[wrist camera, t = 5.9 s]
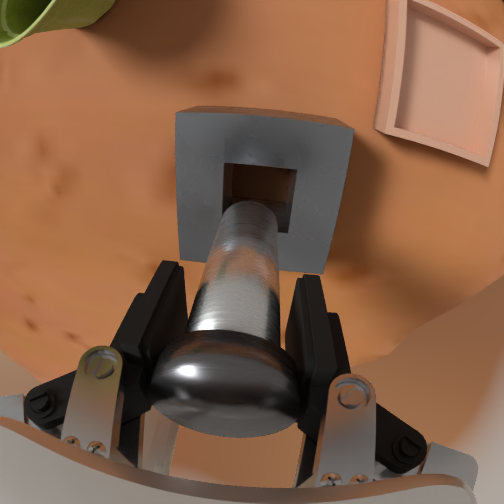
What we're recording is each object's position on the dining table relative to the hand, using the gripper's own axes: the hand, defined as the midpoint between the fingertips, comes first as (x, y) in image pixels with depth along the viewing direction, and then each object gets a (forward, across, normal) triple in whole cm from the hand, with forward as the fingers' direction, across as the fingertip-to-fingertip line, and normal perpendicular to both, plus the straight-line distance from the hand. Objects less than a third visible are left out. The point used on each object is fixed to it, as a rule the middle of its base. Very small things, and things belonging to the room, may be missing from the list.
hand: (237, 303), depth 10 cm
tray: (+13, -13, -11) cm, 22 cm away
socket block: (+13, 0, -1) cm, 13 cm away
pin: (+6, 0, 0) cm, 6 cm away
